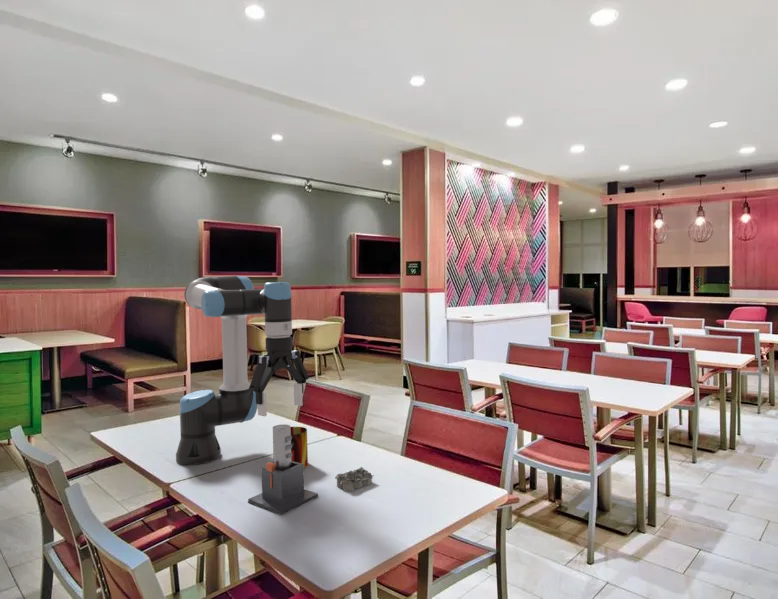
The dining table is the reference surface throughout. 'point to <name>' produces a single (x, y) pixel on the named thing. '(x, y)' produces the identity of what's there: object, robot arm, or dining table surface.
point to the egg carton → (354, 479)
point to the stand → (282, 489)
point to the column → (282, 447)
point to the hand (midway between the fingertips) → (281, 410)
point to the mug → (299, 445)
